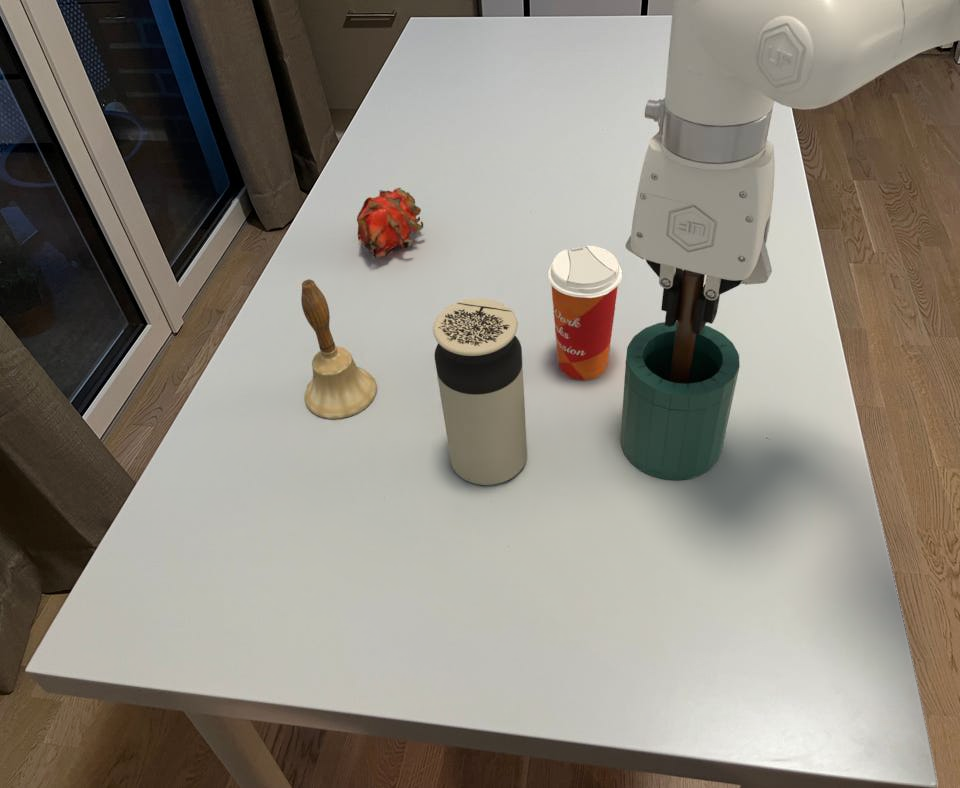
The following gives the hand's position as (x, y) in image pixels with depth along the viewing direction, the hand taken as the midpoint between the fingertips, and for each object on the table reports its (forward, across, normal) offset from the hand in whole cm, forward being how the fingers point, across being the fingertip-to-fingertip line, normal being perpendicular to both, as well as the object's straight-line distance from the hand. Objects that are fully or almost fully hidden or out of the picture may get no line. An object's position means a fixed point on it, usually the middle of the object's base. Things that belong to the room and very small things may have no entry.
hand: (687, 320), depth 71 cm
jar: (+16, 0, 0) cm, 16 cm away
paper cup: (+17, -13, +7) cm, 22 cm away
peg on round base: (+15, 0, 0) cm, 15 cm away
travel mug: (+17, -16, -10) cm, 25 cm away
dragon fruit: (+16, -47, +18) cm, 53 cm away
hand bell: (+17, -36, -9) cm, 41 cm away
